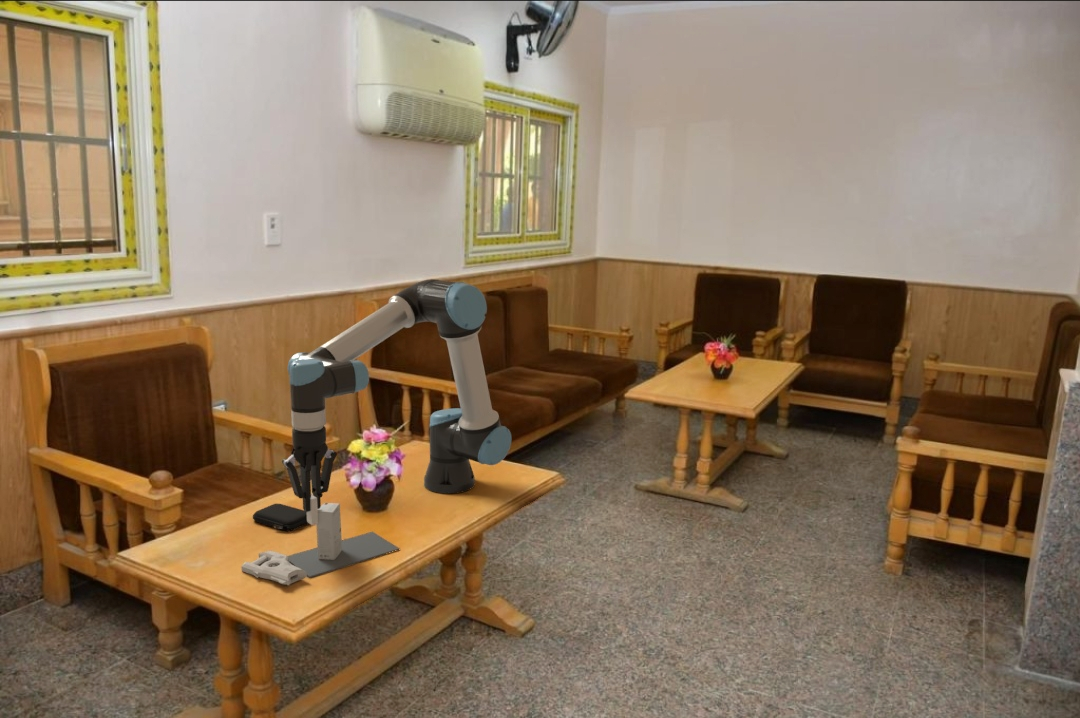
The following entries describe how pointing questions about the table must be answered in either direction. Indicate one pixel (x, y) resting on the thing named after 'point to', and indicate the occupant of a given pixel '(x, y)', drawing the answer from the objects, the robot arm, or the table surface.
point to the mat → (343, 554)
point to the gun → (274, 568)
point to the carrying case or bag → (281, 517)
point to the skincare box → (329, 531)
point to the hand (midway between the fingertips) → (312, 522)
